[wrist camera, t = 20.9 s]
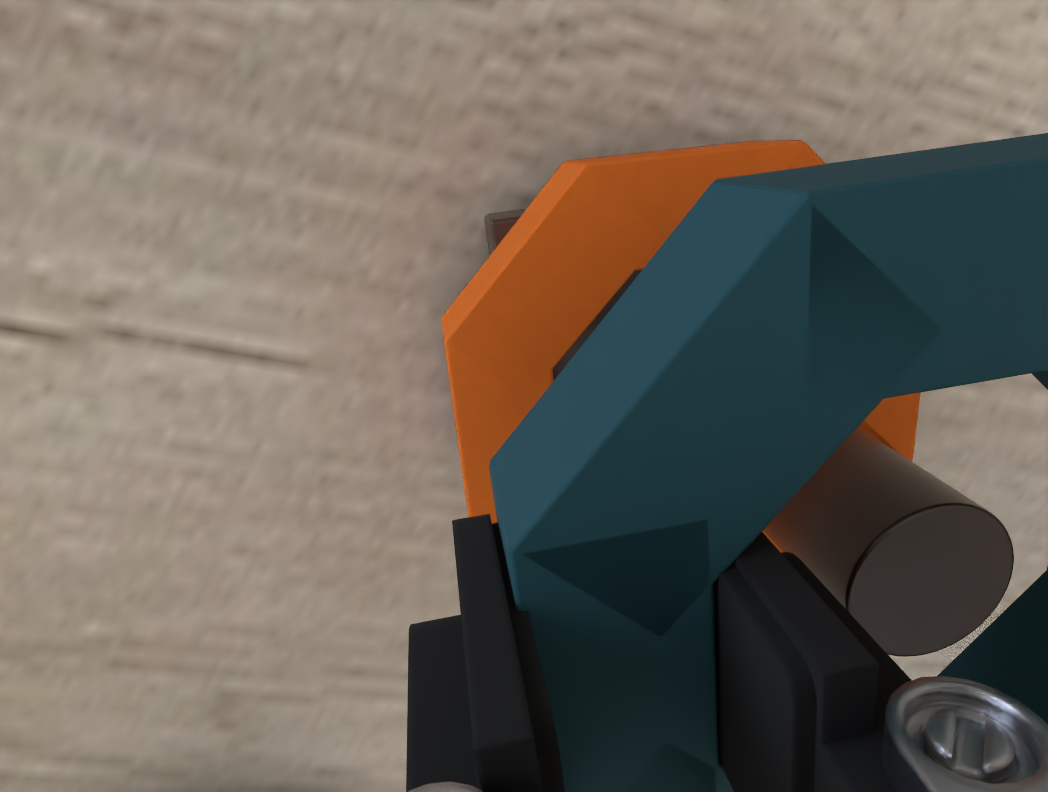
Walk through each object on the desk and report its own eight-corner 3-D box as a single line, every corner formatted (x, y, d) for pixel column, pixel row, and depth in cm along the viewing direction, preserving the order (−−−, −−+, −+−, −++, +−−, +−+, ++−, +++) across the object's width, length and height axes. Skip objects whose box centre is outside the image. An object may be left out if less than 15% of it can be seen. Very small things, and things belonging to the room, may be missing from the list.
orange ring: (885, 127, 16) (952, 124, 14) (852, 528, 20) (901, 572, 18) (421, 176, 15) (421, 180, 13) (479, 590, 19) (486, 644, 17)
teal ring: (1276, 100, 9) (1527, 88, 7) (1122, 730, 13) (1254, 841, 11) (449, 216, 8) (461, 241, 6) (549, 861, 12) (577, 1010, 10)
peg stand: (830, 165, 18) (1326, 190, 8) (820, 476, 21) (1168, 765, 11) (483, 214, 17) (568, 306, 7) (527, 530, 20) (627, 890, 10)
